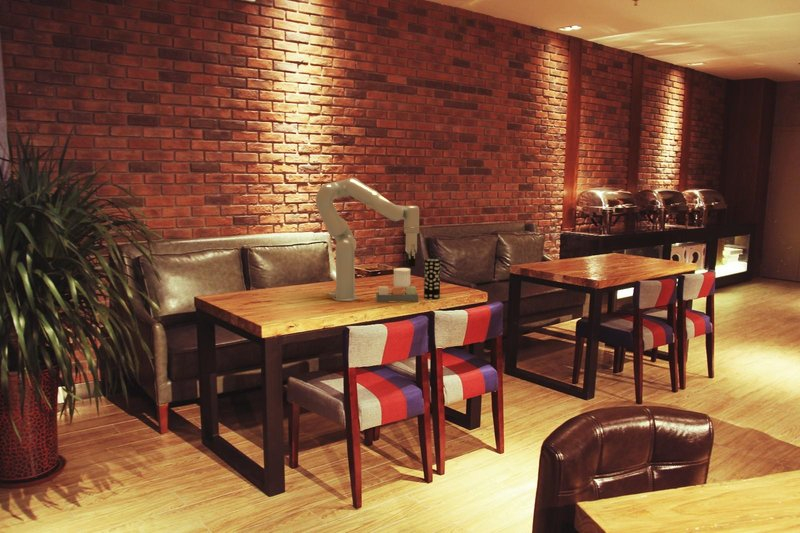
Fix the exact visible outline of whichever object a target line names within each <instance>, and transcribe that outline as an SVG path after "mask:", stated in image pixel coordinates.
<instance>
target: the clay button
mask: <svg viewBox="0 0 800 533" xmlns="http://www.w3.org/2000/svg"><path fill="white" fill-rule="evenodd" d="M391 293H392V295H402V293H403V287H401V286H394V285H392V286H391Z"/></svg>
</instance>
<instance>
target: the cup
mask: <svg viewBox="0 0 800 533" xmlns="http://www.w3.org/2000/svg"><path fill="white" fill-rule="evenodd" d="M392 281H393V282H392V284H393V286H401V287H402V288H405V286H411V268H410V267H398V268H393V280H392Z"/></svg>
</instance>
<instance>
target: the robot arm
mask: <svg viewBox="0 0 800 533" xmlns="http://www.w3.org/2000/svg"><path fill="white" fill-rule="evenodd" d="M349 196H350V197H352V198H354V199H356V200H357V201H359V202H360V203H362V204H364V205H366V206H368V207H369V208H370V209H372V210H374V211H376V212H377V213H378V214H380V215H382V216H384V217H385V218H387V219H389V220H390V221H393V222H399V221H401V220H403V221H404V222H403V227H404V228H403V231H404V235H405V249H404V250H405V252H406V253H407V254H408V262H407V263H408V268H412V267H416V254H417V253H418V234H420V208H419V206H418V205H399V204H395V203H393V202H392V201H390V200H388V199H387V198H385V197H384V196H382V195H381V193H379V191H377V190H376V189H374V188H372V187H370V186H368V185H367V184H365V183H363V182H362V181H360V180H359V179H358V178H357V177H349V178H347V179H343V180H338V181H333V182H332V181H331V182H327V183H325V184H323V185H322V186H321V187H320V188H319V189H318V191H317V192H316V196H315V205H316V208H317V211H318V213H319V215H320V217H321V219H322V223H323V224H324V226H325V228H326V230H327V233H328V234H329V236H331V237H333V238H334V240H335V242H336V244H335V246H334V247H335V248H334V249H335V289H334V290H333V291H330V290H329V291H328V290H327V294H326V295H327V296H333V297H332V299H333V300H334V301H337V302H353V301H357V300H358V298H359V297H358V295H356V294H355V292H356V290H355V289H356V287H355V286H356V283H355V281H356V280H355V279H356V277H355V275H356V268H355V267H356V265H355V261H356V260H355V251H356V249H357V246H358V245H357V241H356V238H355V237H354V234H353V232H352V230H351V228H350V227H349V225H348V223H347V222H348V221H347V220H345V219H344V218H343V217H340V214H339V212H338V210H337V208H336V206H335V205H334V204H335V203H334V200H336V199H340V198H345V197H349Z"/></svg>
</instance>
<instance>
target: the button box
mask: <svg viewBox="0 0 800 533" xmlns="http://www.w3.org/2000/svg"><path fill="white" fill-rule="evenodd" d="M375 300H377V301H376V303H390V302H389V301H413V302H412V303H418V302H419V293H417V292H416V295H406V294H405V291H404V292H402V295H392V292H388V295H378V292H375ZM414 301H415V302H414Z"/></svg>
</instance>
